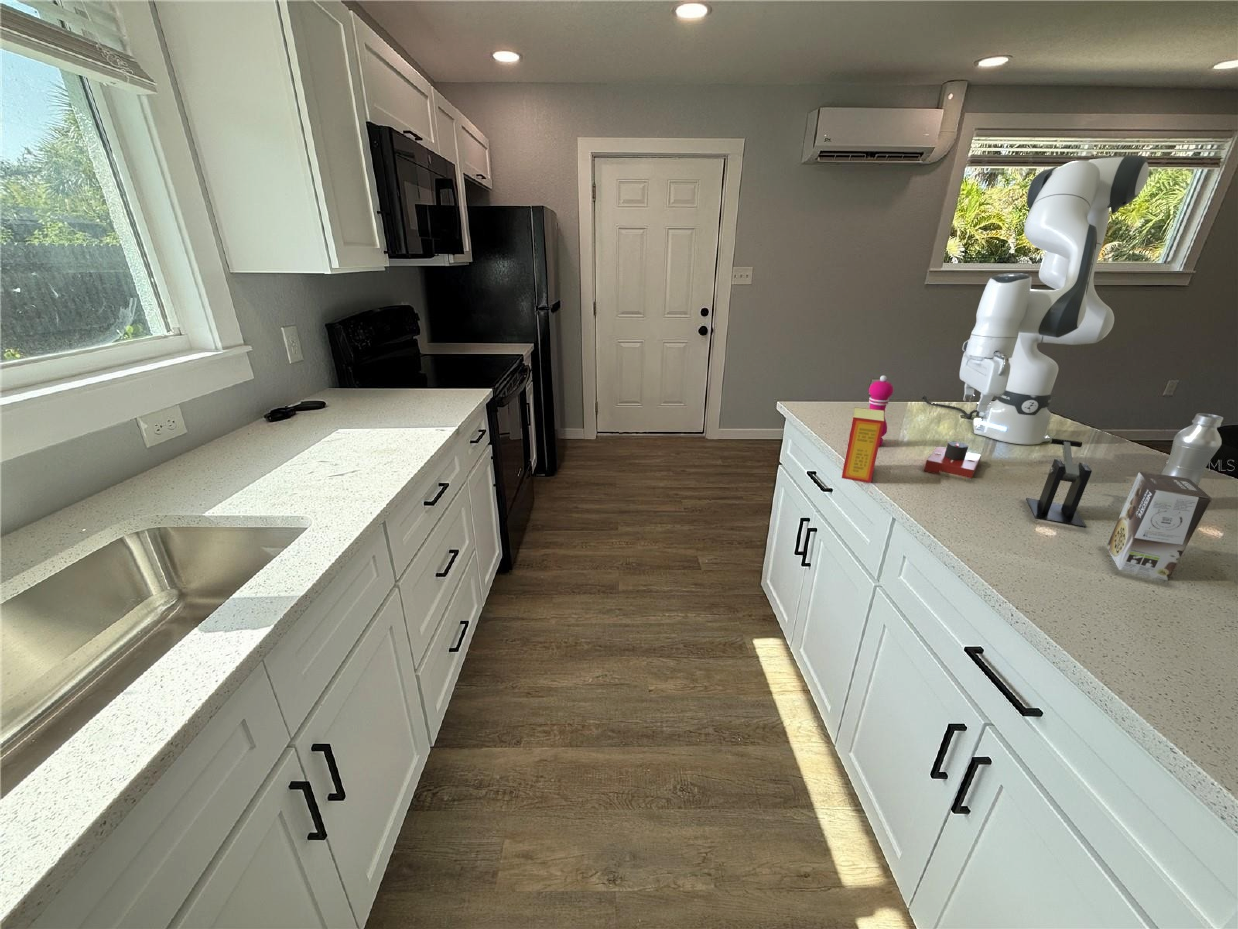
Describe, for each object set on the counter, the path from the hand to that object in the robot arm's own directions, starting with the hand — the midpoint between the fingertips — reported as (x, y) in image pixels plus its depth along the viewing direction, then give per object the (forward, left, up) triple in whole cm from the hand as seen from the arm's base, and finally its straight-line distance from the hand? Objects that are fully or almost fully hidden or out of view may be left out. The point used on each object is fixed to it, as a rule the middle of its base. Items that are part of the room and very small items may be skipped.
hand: (973, 406), depth 118 cm
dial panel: (-1, -1, -17) cm, 17 cm away
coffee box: (+38, +19, -17) cm, 46 cm away
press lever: (+17, +14, -6) cm, 23 cm away
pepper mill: (-14, -19, -17) cm, 29 cm away
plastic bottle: (+5, +39, -17) cm, 43 cm away
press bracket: (+21, +13, -17) cm, 30 cm away
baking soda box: (+11, -24, -17) cm, 31 cm away
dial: (-1, -1, -14) cm, 14 cm away
